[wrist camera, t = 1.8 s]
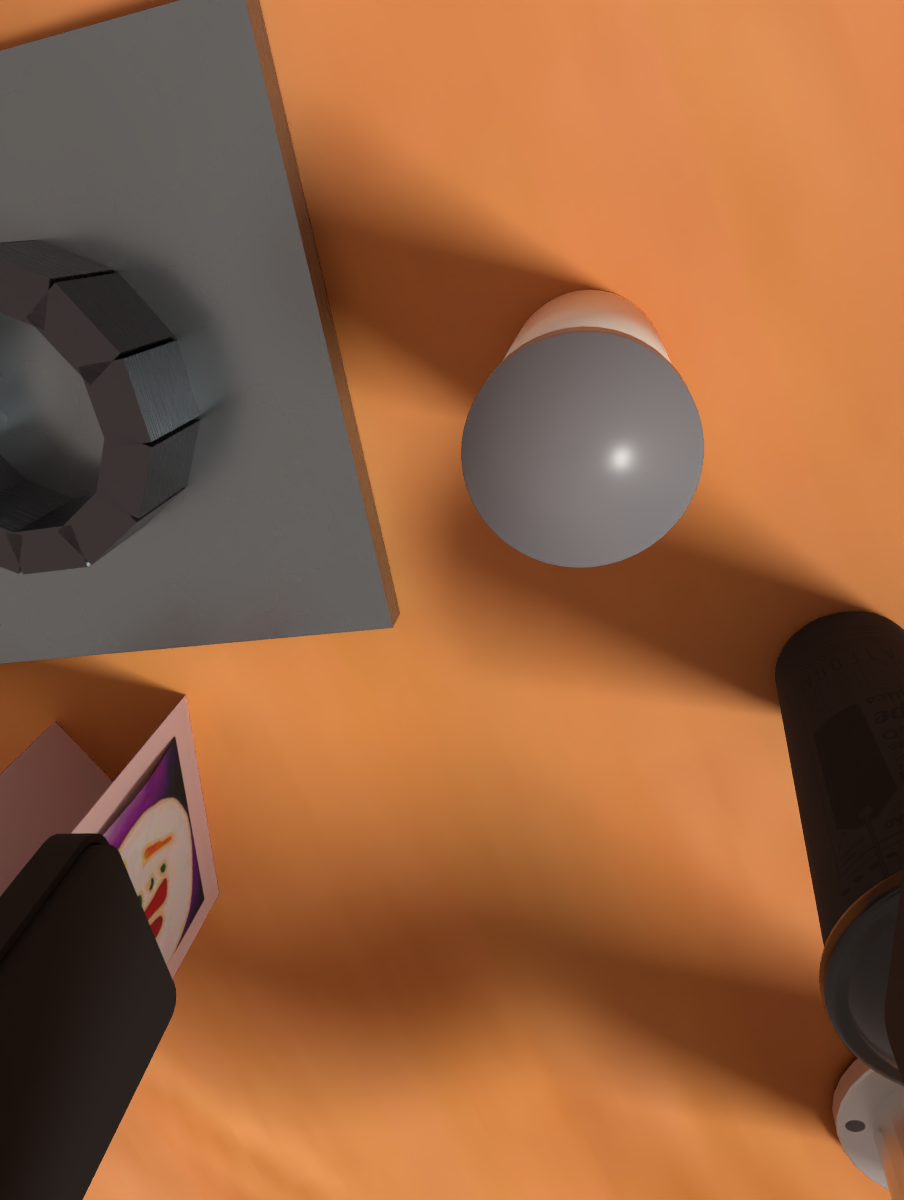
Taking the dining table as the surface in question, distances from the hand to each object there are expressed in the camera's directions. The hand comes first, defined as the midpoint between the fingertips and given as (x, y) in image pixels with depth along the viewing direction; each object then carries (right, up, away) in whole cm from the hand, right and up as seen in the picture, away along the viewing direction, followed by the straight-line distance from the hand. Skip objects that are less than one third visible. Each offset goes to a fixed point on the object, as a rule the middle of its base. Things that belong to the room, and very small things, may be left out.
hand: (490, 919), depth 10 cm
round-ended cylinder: (+4, +11, +17) cm, 21 cm away
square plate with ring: (-14, +11, +20) cm, 27 cm away
